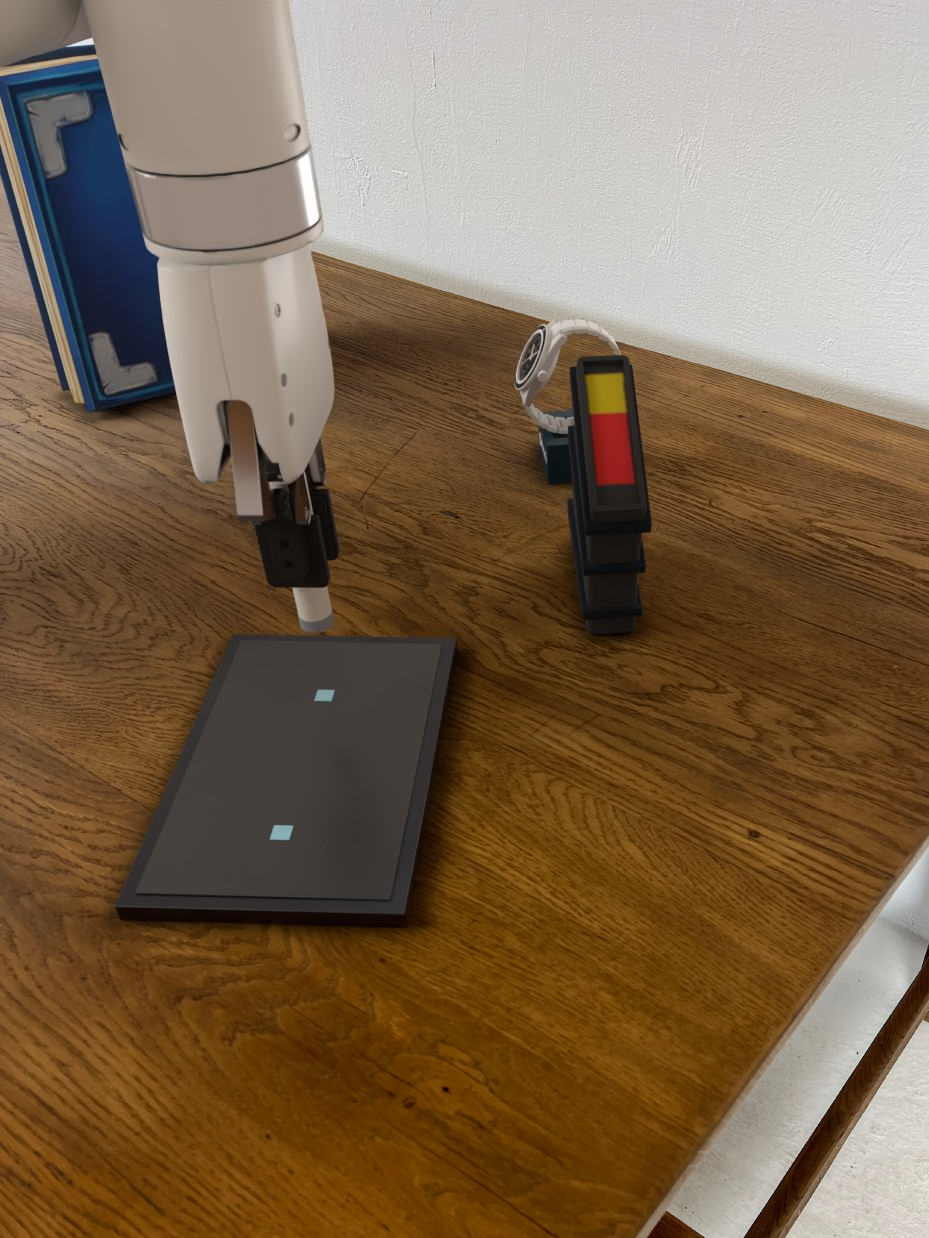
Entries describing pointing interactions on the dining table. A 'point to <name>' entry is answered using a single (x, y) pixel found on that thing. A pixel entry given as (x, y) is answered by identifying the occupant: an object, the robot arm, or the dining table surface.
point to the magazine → (607, 493)
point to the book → (81, 230)
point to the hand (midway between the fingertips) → (304, 568)
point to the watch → (534, 376)
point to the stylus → (311, 596)
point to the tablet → (300, 785)
